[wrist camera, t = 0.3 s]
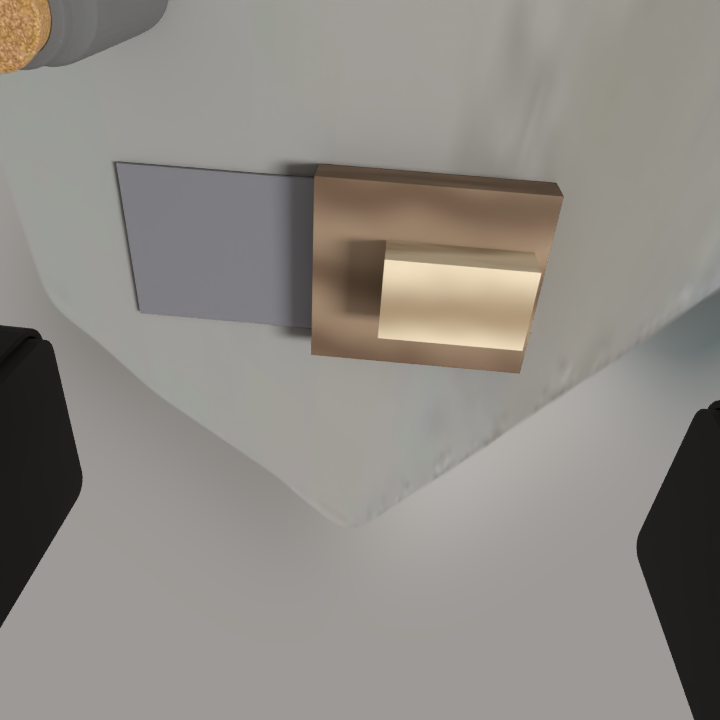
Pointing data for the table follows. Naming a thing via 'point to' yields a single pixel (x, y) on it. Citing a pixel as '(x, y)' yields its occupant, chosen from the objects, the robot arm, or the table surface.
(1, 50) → the bottle
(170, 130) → the table surface
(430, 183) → the plate
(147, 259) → the rubber mat
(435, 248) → the maple tile
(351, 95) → the table surface
